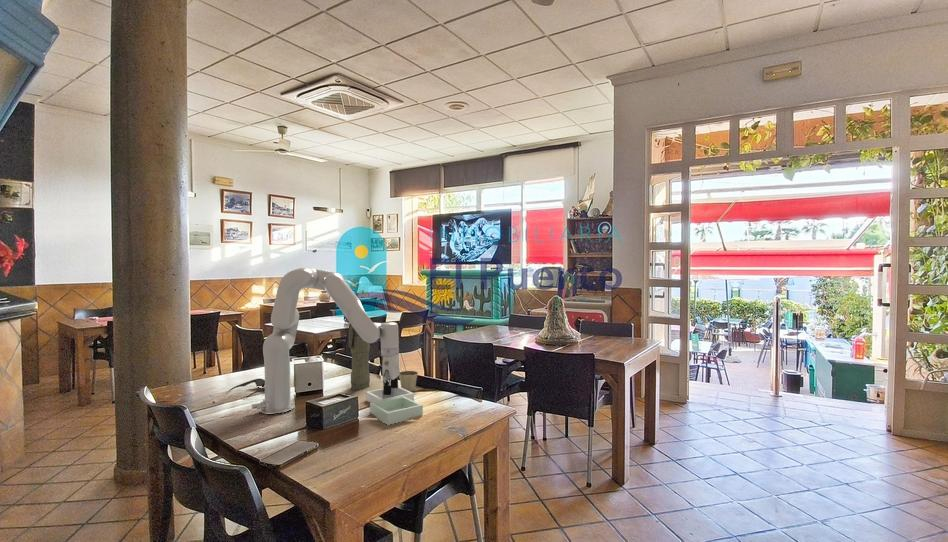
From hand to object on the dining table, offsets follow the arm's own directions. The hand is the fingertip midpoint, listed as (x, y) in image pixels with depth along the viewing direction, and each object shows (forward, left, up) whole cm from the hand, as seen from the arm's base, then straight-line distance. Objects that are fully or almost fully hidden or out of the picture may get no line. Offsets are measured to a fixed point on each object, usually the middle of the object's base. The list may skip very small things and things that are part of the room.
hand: (391, 391), depth 186 cm
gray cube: (0, 0, -4) cm, 4 cm away
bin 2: (-6, -16, -5) cm, 18 cm away
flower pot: (+15, +11, -5) cm, 19 cm away
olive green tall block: (0, +31, -5) cm, 31 cm away
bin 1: (0, 0, -5) cm, 5 cm away
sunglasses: (-44, +54, -6) cm, 70 cm away
